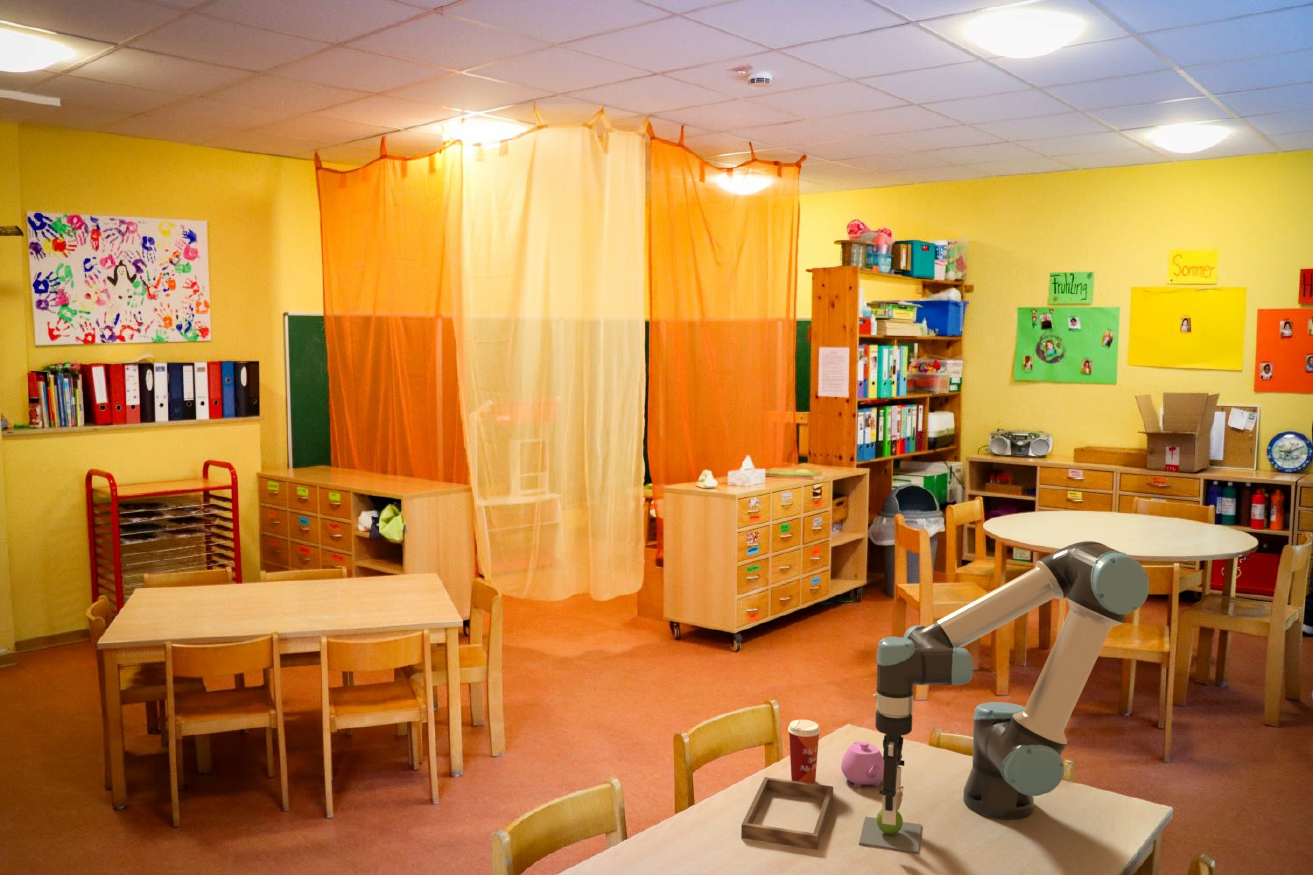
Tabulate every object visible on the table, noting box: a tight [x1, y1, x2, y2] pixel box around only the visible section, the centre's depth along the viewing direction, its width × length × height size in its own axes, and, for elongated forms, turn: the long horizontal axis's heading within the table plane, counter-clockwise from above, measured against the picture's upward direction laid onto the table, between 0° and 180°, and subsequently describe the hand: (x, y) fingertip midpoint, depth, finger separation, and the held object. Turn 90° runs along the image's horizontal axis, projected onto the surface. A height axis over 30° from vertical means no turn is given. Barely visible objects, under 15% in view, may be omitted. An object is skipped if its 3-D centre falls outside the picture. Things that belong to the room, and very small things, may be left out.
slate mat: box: [858, 816, 922, 854], centre depth 212 cm, size 12×12×1 cm
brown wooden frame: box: [740, 776, 834, 851], centre depth 220 cm, size 16×24×3 cm, turn 162°
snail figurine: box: [876, 785, 905, 834], centre depth 211 cm, size 5×6×12 cm
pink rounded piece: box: [840, 740, 884, 788], centre depth 237 cm, size 10×15×9 cm
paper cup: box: [787, 719, 821, 784], centre depth 237 cm, size 8×8×14 cm
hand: (891, 809), depth 212 cm, fingers open, 13 cm apart
